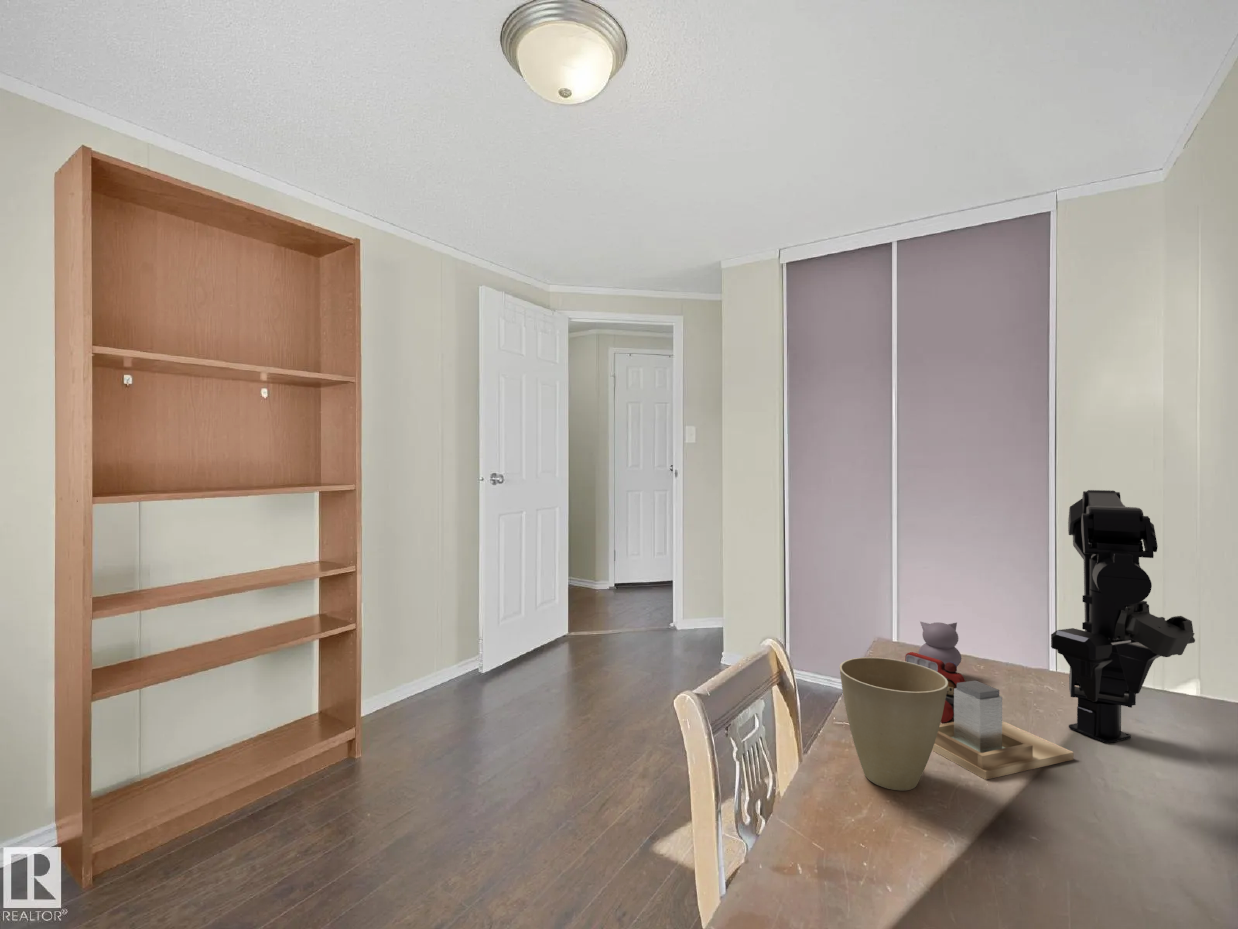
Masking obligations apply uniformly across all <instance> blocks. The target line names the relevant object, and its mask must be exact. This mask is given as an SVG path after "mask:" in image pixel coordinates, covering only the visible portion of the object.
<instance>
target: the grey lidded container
mask: <svg viewBox="0 0 1238 929" xmlns="http://www.w3.org/2000/svg"><path fill="white" fill-rule="evenodd" d="M953 722H954V739H955V740H957V741H959V742H961V743H963V744H965V745H967V746H969V747H971V748H973V749H975V750H977V751H979V752H981V753H984V752H988V751H993V750H998V749H1002V722H1003V696H1001V695H1000V689H999V688H998V689H997V688H995V687H994V686H990V685H988V684H986V683H983V682H980V681H978V680H969V681H968V680H967V681H966V682H960V683H957V688H954V715H953Z"/></svg>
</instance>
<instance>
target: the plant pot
mask: <svg viewBox="0 0 1238 929" xmlns="http://www.w3.org/2000/svg"><path fill="white" fill-rule="evenodd" d="M839 674H840V680H841V682H840V683H841V690H842V696H843V703H844V707H845V712H846V717H847V722H848V726H849V729H850V734H851V737H852V740H853V741H852V742H853V744H854V747H855V750H856V754H857V757H858V760H859V764H860V766H861V769H862V772H863V774H864V776H865V778H866V779H868V780H869V781H870V782H871V783H873V784H875V785H877V786H879V787H882V788H885V789H888V790H894V791H903V792H904V791H910V790H914V788H916V787H917V786H918V783H919V782H920V780H921V777H922V775H923V773H924V771H925V769H926V766H927V765H928V761H929V758H930V757H931V754H932V751H933V750H932V749H933V746H934V743H935V740H936V737H937V733H938V730H939V726H940V724H942V722H941V719H942V715H943V710H944V705H945V699H946V694H947V688H948V681H947V679H946V678H945V677H944V676H943V675H941V674H940V673H938V672H936V671H934V670H932V669H929V668H927V667H924V666H921V665H918V664H914V663H910V662H906V661H905V660H900V659H893V658H885V657H877V656H876V657H875V656H874V657H872V656H871V657H869V656H867V657H865V656H864V657H855V658H850V659H846V660H845V661H842V662H841V663H840V664H839Z"/></svg>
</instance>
